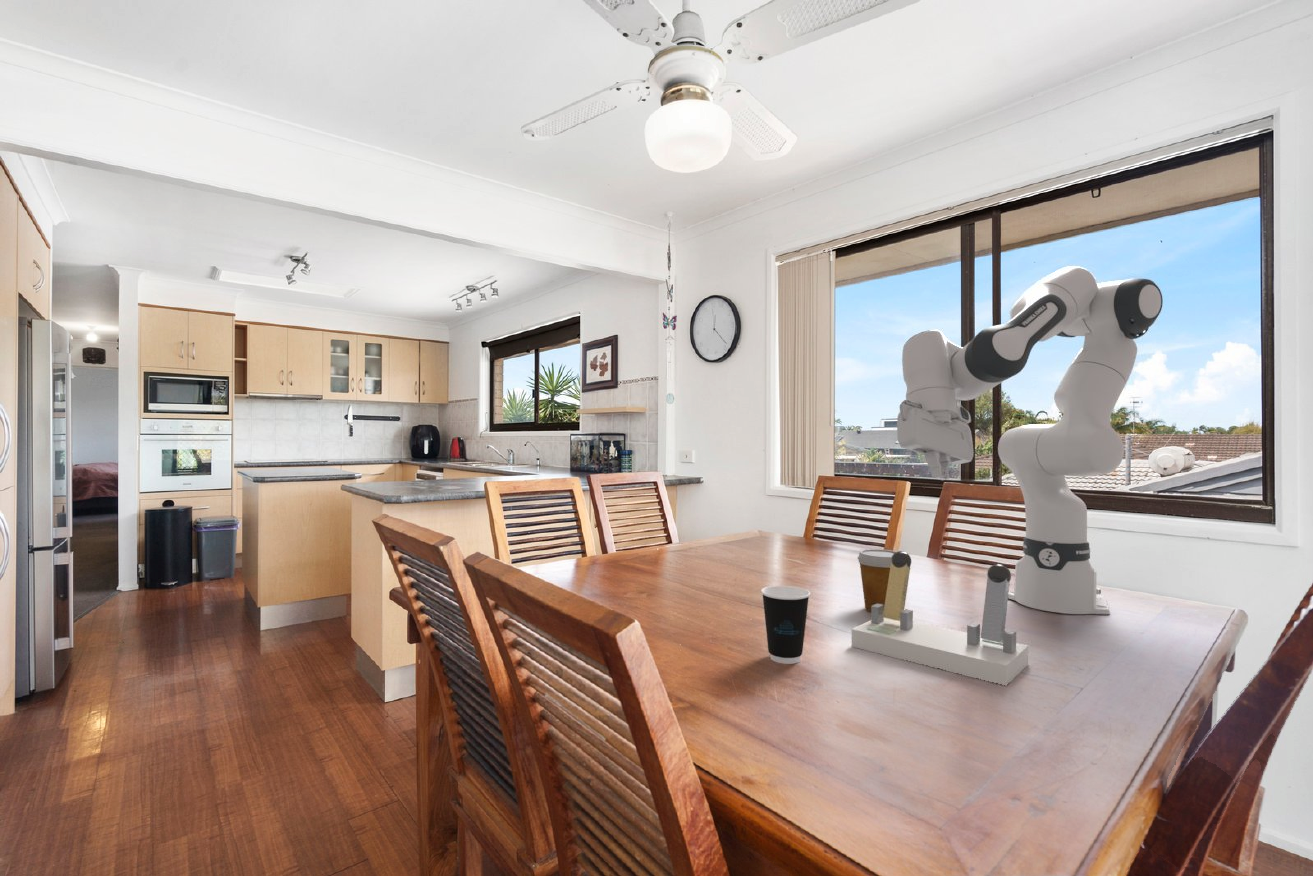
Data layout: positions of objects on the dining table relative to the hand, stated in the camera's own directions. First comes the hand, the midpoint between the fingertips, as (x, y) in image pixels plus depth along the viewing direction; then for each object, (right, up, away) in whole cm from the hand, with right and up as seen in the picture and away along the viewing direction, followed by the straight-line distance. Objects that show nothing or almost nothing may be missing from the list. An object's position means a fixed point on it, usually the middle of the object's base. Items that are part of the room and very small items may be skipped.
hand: (940, 478), depth 116 cm
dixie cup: (-32, -29, -16) cm, 46 cm away
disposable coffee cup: (-7, -28, +12) cm, 32 cm away
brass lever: (-12, -25, -8) cm, 29 cm away
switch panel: (-7, -28, -14) cm, 32 cm away
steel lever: (-1, -25, -19) cm, 31 cm away
